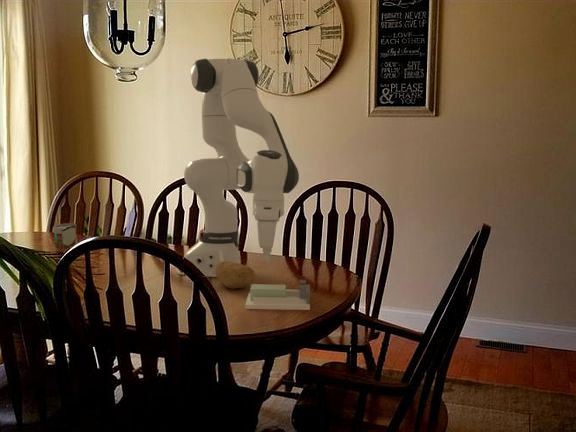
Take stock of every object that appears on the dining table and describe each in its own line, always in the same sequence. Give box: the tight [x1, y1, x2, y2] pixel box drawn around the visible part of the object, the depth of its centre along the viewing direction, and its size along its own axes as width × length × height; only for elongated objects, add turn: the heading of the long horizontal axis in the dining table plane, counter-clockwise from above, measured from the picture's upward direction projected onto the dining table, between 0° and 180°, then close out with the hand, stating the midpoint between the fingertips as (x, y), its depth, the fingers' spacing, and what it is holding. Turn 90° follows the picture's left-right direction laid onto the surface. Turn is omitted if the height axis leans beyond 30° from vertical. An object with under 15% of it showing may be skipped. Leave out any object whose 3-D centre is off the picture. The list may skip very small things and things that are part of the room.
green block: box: [249, 283, 287, 301], centre depth 176 cm, size 10×5×4 cm, turn 89°
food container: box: [52, 222, 77, 249], centre depth 239 cm, size 12×6×10 cm, turn 172°
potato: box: [215, 261, 256, 289], centre depth 190 cm, size 10×14×8 cm
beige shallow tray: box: [245, 279, 311, 311], centre depth 175 cm, size 18×12×6 cm, turn 89°
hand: (267, 256), depth 174 cm, fingers open, 8 cm apart
